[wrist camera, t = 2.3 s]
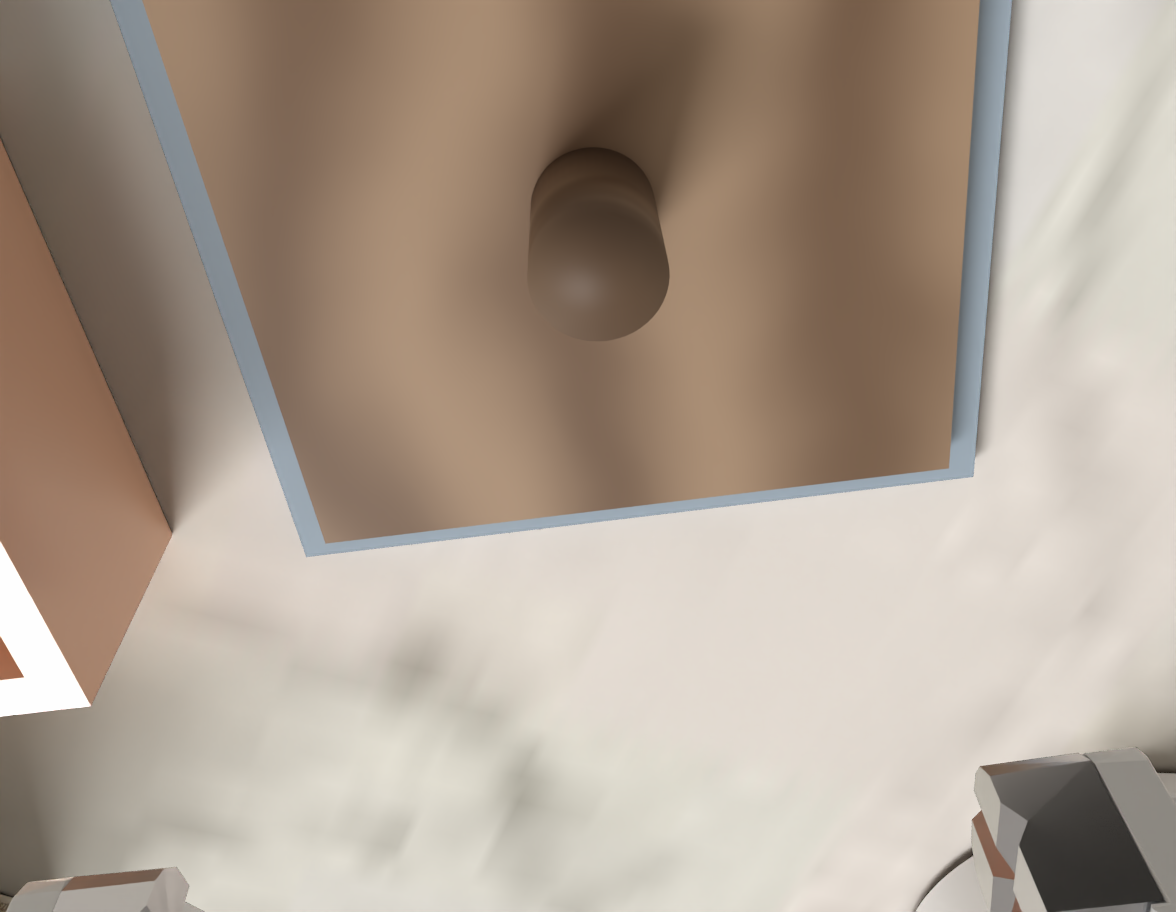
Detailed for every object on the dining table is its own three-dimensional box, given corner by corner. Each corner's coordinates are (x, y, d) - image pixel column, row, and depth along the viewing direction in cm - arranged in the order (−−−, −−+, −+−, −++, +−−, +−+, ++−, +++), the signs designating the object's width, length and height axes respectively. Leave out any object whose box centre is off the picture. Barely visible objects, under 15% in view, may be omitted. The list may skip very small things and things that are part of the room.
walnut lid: (986, -300, 21) (1084, -308, 17) (940, 452, 31) (997, 557, 27) (102, -163, 22) (3, -140, 18) (330, 527, 32) (298, 639, 28)
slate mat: (1030, -369, 21) (1042, -371, 21) (966, 465, 32) (973, 476, 32) (46, -213, 22) (35, -212, 22) (310, 544, 33) (306, 557, 33)
